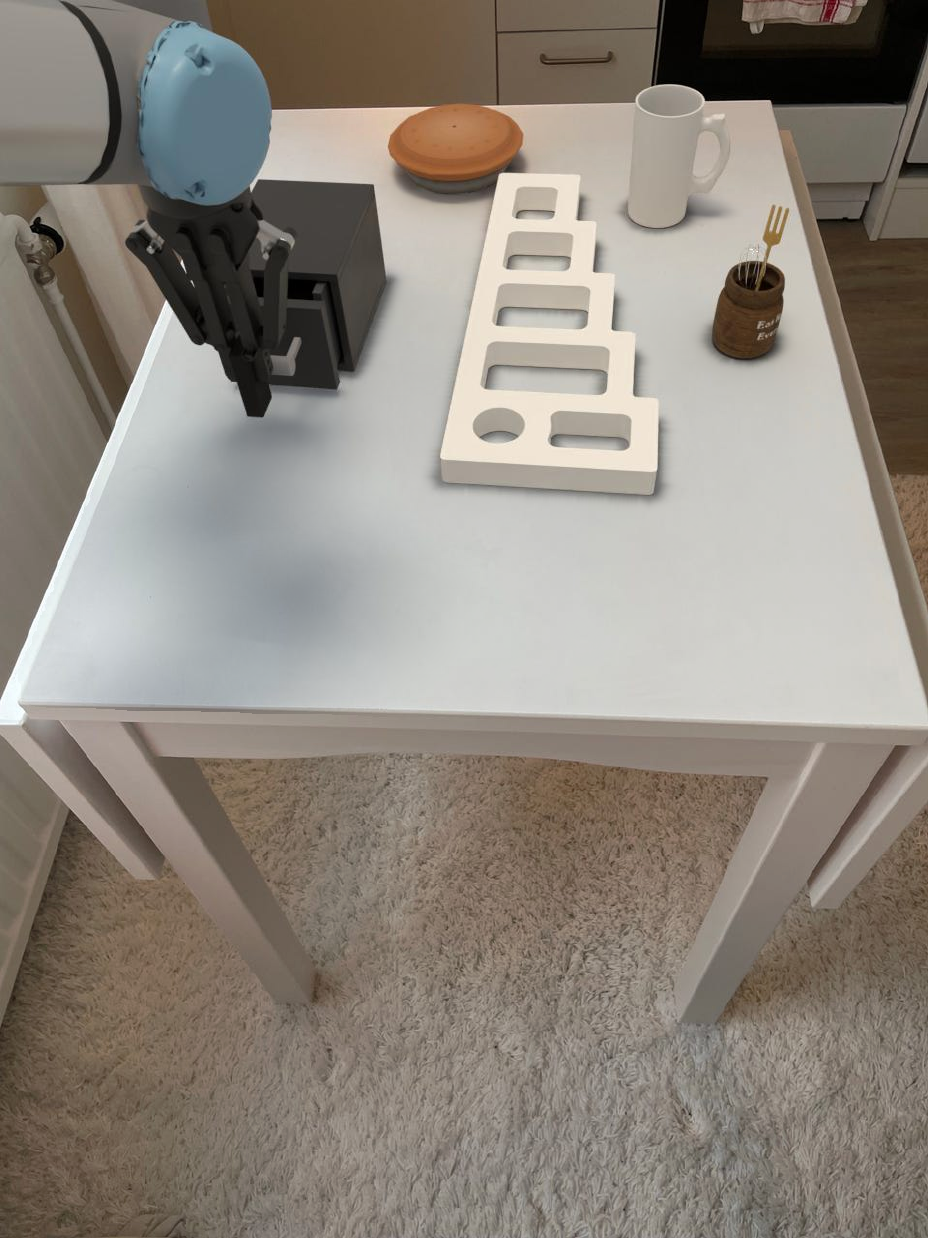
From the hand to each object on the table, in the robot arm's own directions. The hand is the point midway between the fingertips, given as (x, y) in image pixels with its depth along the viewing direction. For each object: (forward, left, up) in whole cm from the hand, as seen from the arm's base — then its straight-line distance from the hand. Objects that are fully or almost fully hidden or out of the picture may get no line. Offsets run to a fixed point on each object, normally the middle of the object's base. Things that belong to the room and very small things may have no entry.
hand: (259, 406), depth 83 cm
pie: (+31, +36, -4) cm, 48 cm away
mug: (+49, +17, -4) cm, 52 cm away
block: (+5, +9, -2) cm, 11 cm away
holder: (+31, +4, -4) cm, 32 cm away
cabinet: (+8, +15, -4) cm, 17 cm away
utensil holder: (+45, -5, -4) cm, 46 cm away
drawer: (+5, +9, -3) cm, 11 cm away
